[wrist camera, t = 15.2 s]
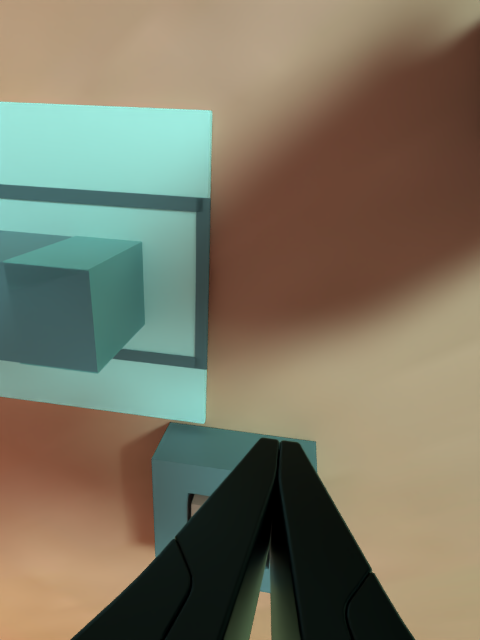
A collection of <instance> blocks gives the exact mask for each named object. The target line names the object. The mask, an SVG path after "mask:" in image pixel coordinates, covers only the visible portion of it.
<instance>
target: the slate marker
mask: <svg viewBox="0 0 480 640" xmlns="http://www.w3.org/2000/svg"><path fill="white" fill-rule="evenodd" d="M144 325H145V310H144V282H143V254H142V242H141V241H129V240H118V239H106V238H95V237H83V236H74V237H71V236H60V235H48V234H37V233H26V232H14V231H3V230H0V360H3V361H11V362H19V363H20V364H26V365H34V366H41V367H49V368H57V369H65V370H73V371H80V372H88V373H96V374H98V373H99V372H100V371H101V370H102V369H103V368H104V367H105V366H106V365H107V364H108V363H109V361H110V360H111V359H112V358H113V357H114V356H115V355H116V354H117V353H118V352H119V351H120V350H121V349H122V348H123V347H124V346H125V345H126V344H127V343H128V342H129V341H130V340H131V338H132V337H133V336H134V335H135V334H136V333H137V332H138V331H139V330H140V329H141V328H142V327H143V326H144Z"/></svg>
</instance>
